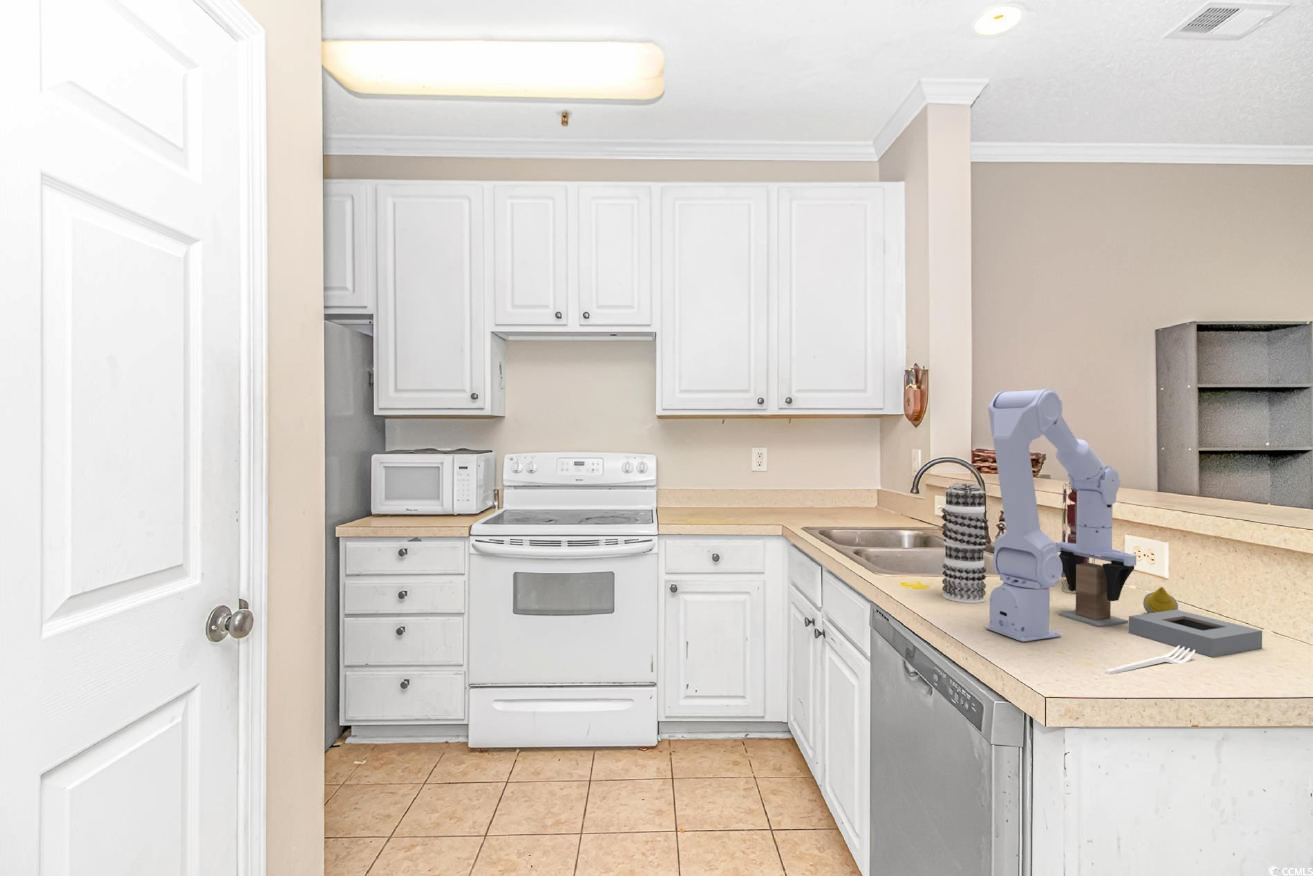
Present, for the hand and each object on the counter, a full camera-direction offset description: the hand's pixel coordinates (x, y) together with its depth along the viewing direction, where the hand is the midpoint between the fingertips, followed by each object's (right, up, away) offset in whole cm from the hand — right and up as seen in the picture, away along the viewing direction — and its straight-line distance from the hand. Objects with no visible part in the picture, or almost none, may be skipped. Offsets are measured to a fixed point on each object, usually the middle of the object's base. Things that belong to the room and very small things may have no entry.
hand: (1093, 595), depth 121 cm
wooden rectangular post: (0, -4, 0) cm, 4 cm away
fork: (-8, -6, -24) cm, 26 cm away
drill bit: (+15, -5, +1) cm, 15 cm away
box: (+12, -5, +21) cm, 25 cm away
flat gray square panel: (0, -5, 0) cm, 5 cm away
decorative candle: (-18, -5, +15) cm, 24 cm away
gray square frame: (+9, -5, -12) cm, 16 cm away
